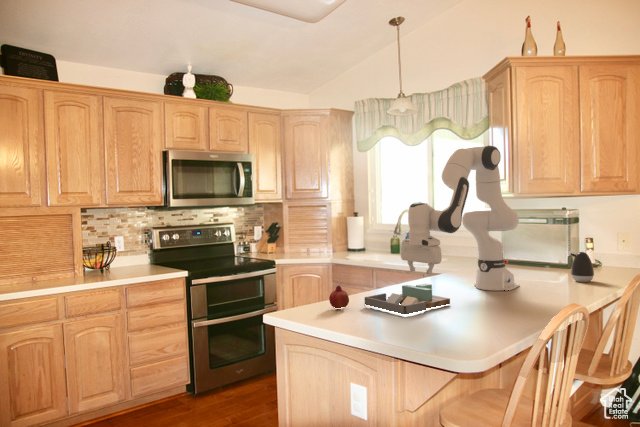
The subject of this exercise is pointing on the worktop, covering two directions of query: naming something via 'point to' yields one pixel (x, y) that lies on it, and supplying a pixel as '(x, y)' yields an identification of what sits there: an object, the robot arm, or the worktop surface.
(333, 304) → the fruit
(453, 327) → the worktop surface
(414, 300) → the tile cream
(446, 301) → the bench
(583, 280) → the pump dispenser
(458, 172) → the robot arm
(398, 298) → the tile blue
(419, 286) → the scraper
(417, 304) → the tray
